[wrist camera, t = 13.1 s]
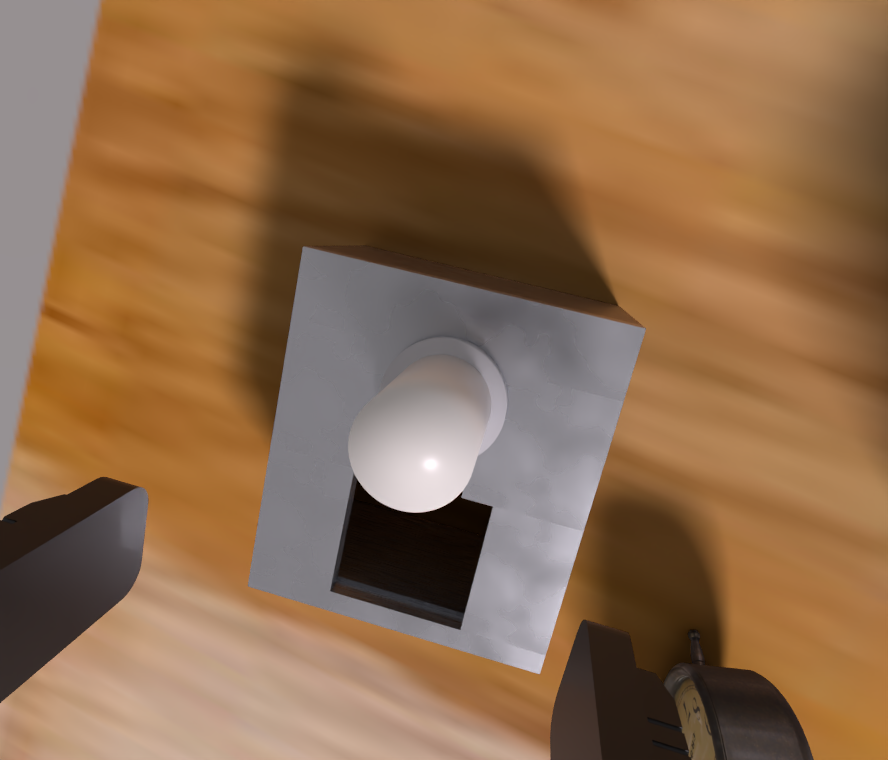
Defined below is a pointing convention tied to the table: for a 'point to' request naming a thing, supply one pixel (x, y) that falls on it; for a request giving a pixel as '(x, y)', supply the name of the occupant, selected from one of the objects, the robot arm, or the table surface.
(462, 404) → the peg
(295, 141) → the table surface
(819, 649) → the table surface
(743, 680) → the alarm clock
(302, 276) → the keyhole stand
